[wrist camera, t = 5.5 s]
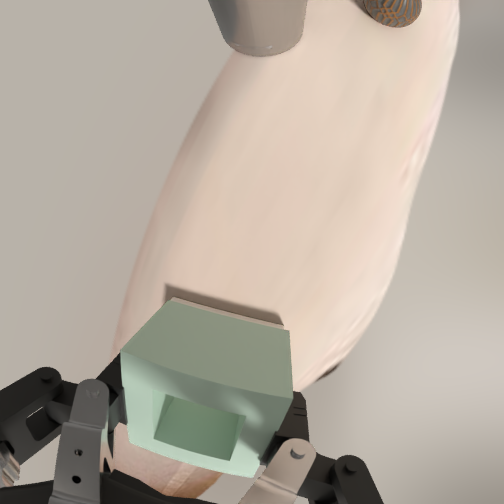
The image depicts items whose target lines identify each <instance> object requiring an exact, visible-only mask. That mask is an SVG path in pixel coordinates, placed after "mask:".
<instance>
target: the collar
mask: <svg viewBox="0 0 504 504" xmlns="http://www.w3.org/2000/svg"><path fill="white" fill-rule="evenodd" d="M120 356H121V374H122V387H124V391H125V402H126V411H127V419H128V423H127V429H128V436H129V442H130V443H132V444H135V445H137V446H139V447H142V448H144V449H147V450H149V451H152V452H155V453H158V454H160V455H163V456H166V457H169V458H172V459H175V460H178V461H181V462H185V463H188V464H191V465H195V466H199V467H202V468H206V469H210V470H214V471H219V472H223V473H228V474H233V475H238V476H244V477H251V478H253V476H254V474H255V473H256V471H257V469H258V467H259V464H260V460H261V458H262V456H263V454H264V452H265V450H266V448H267V446H268V445H269V443H270V441H271V439H272V437H273V435H274V433H275V431H278V430H279V428H280V426H281V424H282V422H283V419H284V417H285V415H286V413H287V411H288V409H289V407H290V405H291V403H292V400H293V384H292V366H291V350H290V335H289V331H288V330H284V329H279V328H275V327H270V326H266V325H261V324H257V323H253V322H249V321H245V320H241V319H237V318H233V317H229V316H225V315H221V314H217V313H213V312H210V311H206V310H202V309H199V308H195V307H192V306H188V305H185V304H181V303H178V302H174V301H171V300H168V301H167V302H166V303H165V304H164V305H163V306H162V307H161V308H160V309H159V310H158V311H157V312H156V313H155V314H154V315H153V316H152V317H151V318H150V319H149V321H148V322H147V323H146V324H145V325H144V326H143V327H142V328H141V329H140V330H139V331H138V332H137V333H136V334H135V335H134V336H133V337H132V338H131V339H130V340H129V341H128V342H127V343H126V345H125V346H124V347H123V348H122V349H121V350H120Z"/></svg>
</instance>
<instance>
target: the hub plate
mask: <svg viewBox="0 0 504 504" xmlns="http://www.w3.org/2000/svg"><path fill="white" fill-rule="evenodd" d="M171 301H174V302H178V303H181V304H185V305H188V306H192V307H195V308H199V309H202V310H206V311H210V312H213V313H217V314H221V315H225V316H229V317H233V318H237V319H241V320H245V321H249V322H253V323H257V324H261V325H266V326H270V327H275V328H279V329H284V325H280V324H276V323H271V322H267V321H263V320H258V319H254V318H250V317H246V316H242V315H238V314H234V313H230V312H226V311H223V310H219V309H215V308H211V307H208V306H204V305H200V304H197V303H193V302H190V301H186V300H183V299H180V298H176V297H173V298H172V299H171Z"/></svg>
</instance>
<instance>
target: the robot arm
mask: <svg viewBox="0 0 504 504" xmlns="http://www.w3.org/2000/svg"><path fill="white" fill-rule="evenodd" d="M208 1H209V3H210V6H211V8H212V11H213V13H214V16H215V18H216V21H217V23H218V25H219V28H220V30H221V33H222V35H223V38H224V39H225V41H226V43H227V44H228V45H229V46H230V47H232V48H233V49H235V50H236V51H238V52H241V53H243V54H247V55H252V56H272V55H276V54H280V53H282V52H285V51H287V50H289V49H290V48H292V47H293V46H294V45H295V44H296V43H297V42H298V41H299V40H300V38H301V36H302V32H303V26H304V19H305V13H306V6H307V0H208ZM41 407H43V408H41ZM39 408H41V409H40V410H38V409H39ZM37 410H38V411H37ZM35 411H37V412H35ZM34 412H35V413H34ZM32 413H34V414H32ZM31 414H32V415H31ZM29 415H31V416H30V417H28V416H29ZM27 417H28V418H27ZM119 422H120V423H123V424H125V425H127V423H128V419H127V411H126V402H125V391H124V387H122V374H121V356H120V353H119V354H118V355H117V357H115V359H114V360H113V361H112V362H111V363H110V364H109V365H108V366H107V367H106V368H105V370H104V371H102V373H101V374H100V375H99V376H98V377H97V378H96V379H87V380H84V381H82V382H80V383H79V384H75V383H71V382H67V381H64V380H62V379H61V375H60V374H59V372H58V371H57V370H56V369H54V368H50V367H42V368H39V369H37V370H35V371H34V372H32V373H30V374H28V375H26V376H25V377H23V378H21V379H20V380H18V381H16V382H14V383H13V384H11V385H9V386H7V387H6V388H4V389H2V390H0V504H216V503H212V502H207V501H203V500H199V499H193V498H181V497H172V496H166V495H163V494H161V493H160V492H158V491H156V490H155V489H153V488H151V487H150V486H148V485H146V484H145V483H143V482H142V481H140V480H139V479H136V478H134V477H131V476H129V475H127V474H125V473H122V472H120V471H118V470H116V467H115V435H116V429H115V427H116V426H117V424H118V423H119ZM60 434H61V436H60V441H59V447H58V453H57V460H56V467H55V476H54V480H50V481H45V482H39V483H33V484H26V485H18V486H14V481H17V480H19V474H20V465H21V464H23V463H24V462H25V461H26V460H28V459H29V458H30V457H32V456H33V455H34V454H35V453H37V452H38V451H39V450H41V449H42V448H43V447H44V446H45V445H47V444H48V443H50V442H51V441H52V440H53V439H54V438H56V437H57V436H58V435H60ZM259 465H265V466H266V469H265V470H264V472H263V473H262V474H261V476H260V477H259V478H258V479H257V480H256V481H255V483H254V484H253V485H252V486H251V488H250V489H249V490H248V492H247V493H246V494H245V496H244V497H243V498H242V499H241V500H240V501H239V503H238V504H294V502H295V500H296V498H297V496H301V497H305V498H308V501H309V504H384V503H383V501H382V499H381V497H380V494H379V492H378V490H377V488H376V486H375V484H374V481H373V479H372V477H371V475H370V473H369V471H368V468H367V466H366V465H365V463H364V461H362V460H361V459H360V458H358V457H356V456H352V455H345V456H342V457H340V458H338V459H337V460H335V459H331V458H328V457H325V456H322V455H320V454H318V453H317V452H316V450H315V448H314V447H313V445H312V444H311V443H310V442H309V432H308V420H307V410H306V400H305V399H304V397H303V396H302V394H301V392H295V391H293V400H292V403H291V405H290V407H289V409H288V411H287V413H286V415H285V417H284V419H283V422H282V424H281V426H280V428H279V430H278V431H275V433H274V435H273V437H272V439H271V441H270V443H269V445H268V446H267V448H266V450H265V452H264V454H263V456H262V458H261V460H260V464H259Z"/></svg>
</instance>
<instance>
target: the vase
mask: <svg viewBox="0 0 504 504" xmlns="http://www.w3.org/2000/svg"><path fill="white" fill-rule="evenodd" d="M364 5H365V8H366V9H367V11H368V13H369V14H370V15H371V16H372V17H373V18H374V19H375V20H377V21H378V22H380V23H381V24H384V25H386V26H389V27H396V28H400V27H405V26H408V25H410V24H411V23H413V22H414V21H415V20H416V19H417V18H418V16H419V15H420V12H421V8H422V1H421V0H364Z"/></svg>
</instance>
